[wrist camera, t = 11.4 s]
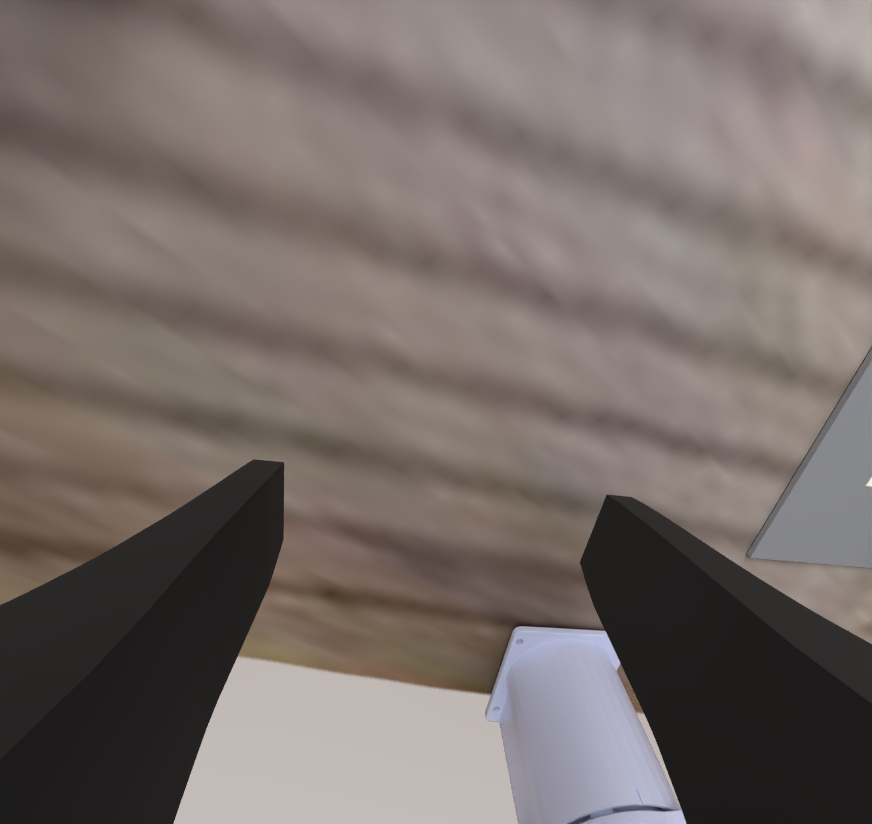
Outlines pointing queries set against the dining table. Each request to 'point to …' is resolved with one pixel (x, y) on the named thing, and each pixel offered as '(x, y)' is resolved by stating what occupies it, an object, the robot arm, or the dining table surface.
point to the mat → (829, 490)
